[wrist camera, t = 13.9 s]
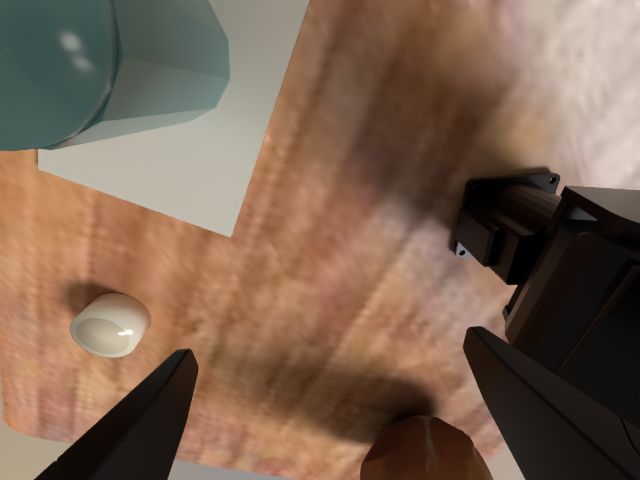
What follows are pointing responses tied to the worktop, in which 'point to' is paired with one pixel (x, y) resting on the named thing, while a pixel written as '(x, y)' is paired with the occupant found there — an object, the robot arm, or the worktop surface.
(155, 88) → the teal cover
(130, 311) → the cream bowl
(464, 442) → the butternut squash
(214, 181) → the grey mat
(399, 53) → the worktop surface
